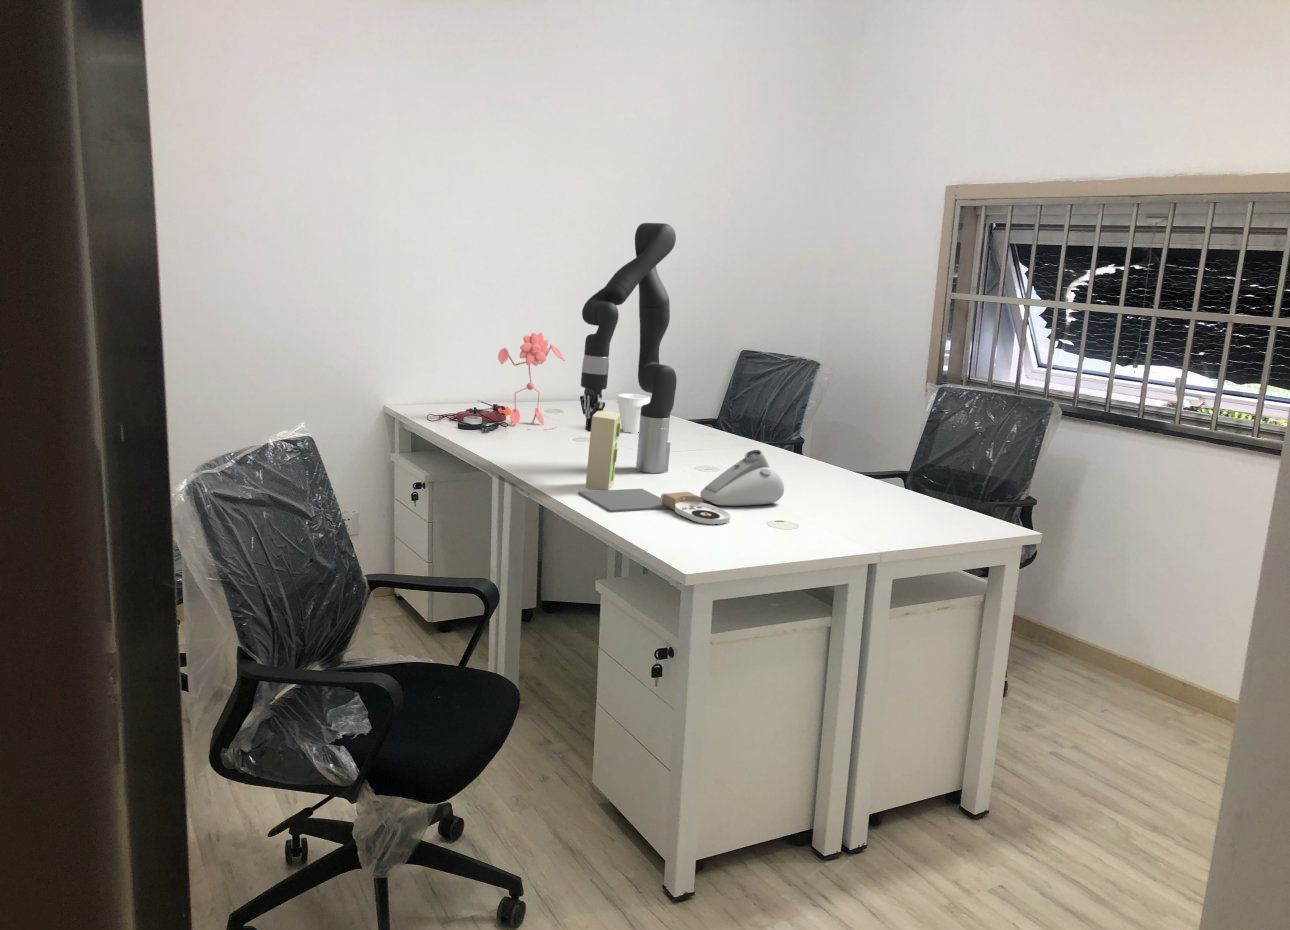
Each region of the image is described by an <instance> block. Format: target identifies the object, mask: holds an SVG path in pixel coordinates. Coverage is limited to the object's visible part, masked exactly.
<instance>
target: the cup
mask: <svg viewBox="0 0 1290 930" xmlns="http://www.w3.org/2000/svg"><path fill="white" fill-rule="evenodd" d="M616 400H617V402H616V403H617V405H618V410H619V411H618V413H620V423H621V426H620V427H621V431H622V430H623V431H626V432H631V433H630V434H639V433H638V432H639V425H640V413H641V407H642V406H643V405H645V404H648V403H649V402H650V401H651V397H650V396H648V395H644V394H637V393H620V394H618V395H617V399H616ZM623 431H622V432H623Z"/></svg>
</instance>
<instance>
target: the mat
mask: <svg viewBox="0 0 1290 930" xmlns="http://www.w3.org/2000/svg"><path fill="white" fill-rule="evenodd" d="M577 494H578V495H579V496H581V497H583V498H585V499H586V500H588V501H590V502H592V503H593V504H595V505H596V506H598V507H600V508H602V509H604V510H605V509H606V511H607V512H609V513H619V512H637V511H653V510H654V511H655V510H656V511H657V510H670V509H671V508H669V507H667V506H665V505H663V504H661V503H660V498H661V496H658V495H655V494H653V493H651V492H650V491H648V490H646V489H644V488H627V489H609V490H598V489H597V490H579V491H577ZM671 510H672V509H671Z"/></svg>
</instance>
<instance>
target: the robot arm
mask: <svg viewBox="0 0 1290 930" xmlns="http://www.w3.org/2000/svg"><path fill="white" fill-rule="evenodd" d="M676 240H677V236H676V230H675V229H674V228H673V226H671V225H670V224H667V223H663V222H661V223H660V222H643V223H641V224H639V225H638V226H637V228H636V230H635V235H634V249H635V256H636V257H635V258H634V259H631V261H629V262H627V263H626V264H624V265H623V266H622V267H620V268H619V269H618V270H617V271H616V272H615V273H614V274H613V276H612V277H611V278H610V280H609V281H608V282H607V283H606V285H604V287H603V288H601V289H600V290H598V292H596V293H595V294H593V295H592V296H590V298H588V299H587V301H586V302H585V303H584V305H583V307H582V310H581V311H582V312H581V316H582V320H583V321H584V322H585V323H586V324H588V325H591V326H597V330H596V332H595V333H591V334H588V335H586V338H585V342H584V351H583V353H584V354H583V359H582V366H581V374H580V375H581V377H580V387H582V388H584V392H583V395H580V397H579V401H580V406H581V411H582V415H584V416H585V417H584V418H585V428H584V430H585V431H586V432H590V433H591V423H592V416H593V415H594V414H595V413H596V412H597V411H598V410H600V411H604V408H605V406H606V402H605V401H602V398H603V393H602V390H606V389H607V388H608V380H609V379H608V378H609V367H610V365H609V364H610V363H609V362H610V361H609V360H610V358H609V357H610V348H611V347H610V345H611V341H612V339H613V335H614V333H615V330H616V327H617V325H618V323H619V315H620V314H619V309H618V307H617V306H620V305H622V304H624V303H625V302H626V301H627V299H628V298H629V296H630V295H631V294H632V293H633V291H634V290H635V288H636V287H637V286H638V298H639V299H638V311H639V312H638V316H639V356H638V365H637V366H638V369H637V380H638V381H637V382H638V384H639V387H640V389H641V390H642V391H644V392H645V393H649V394H651V397H650V402H649V403H648V404H645V405H643V406H642V407H641V413H640V425H639V433H638V438H637V452H636V461H635V463H636V465H635V467H636V468H635V469H636V471H639V472H643V473H651V474H661V473H662V474H663V473H666V472H669V464H670V463H669V462H670V452H671V441H670V440H669V432H670V424H671V423H670V422H671V412H672V410H673V408H674V404H675V396H676V391H677V382H678V381H677V373H676V371H675V369H674V368H673V367H671V366H669V365H666V364H660V347H661V342H662V340H663V338H664V336H665V334H666V332H667V330H668V326H669V323H670V317H671V311H670V309H671V307H670V305H671V304H670V297H669V294H668V291H667V290H666V288H665V286H664V284H663V282H662V280H661V278H660V276H659V274H658V270H657V265H658V264H659V263H661V262H662V261H663V260H665V259H664V258H666V257H667V256H668V255H669V254H670V253H671V251H672V250H673V249H674V248H675V244H676Z"/></svg>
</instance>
